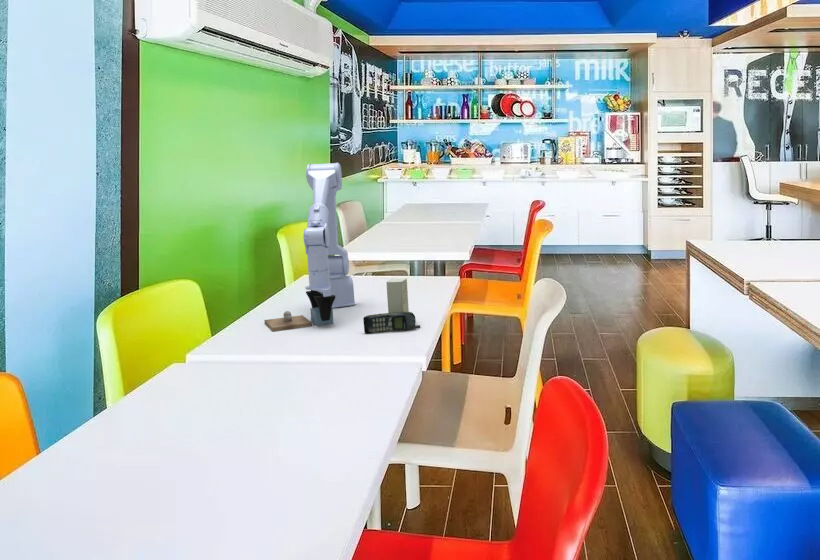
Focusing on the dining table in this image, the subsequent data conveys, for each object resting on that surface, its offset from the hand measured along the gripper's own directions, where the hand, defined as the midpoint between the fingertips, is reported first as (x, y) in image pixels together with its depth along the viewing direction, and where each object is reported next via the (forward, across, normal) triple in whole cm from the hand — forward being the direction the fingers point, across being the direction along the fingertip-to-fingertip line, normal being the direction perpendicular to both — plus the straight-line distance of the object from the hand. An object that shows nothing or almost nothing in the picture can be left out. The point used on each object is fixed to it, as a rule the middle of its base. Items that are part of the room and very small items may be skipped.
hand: (321, 317), depth 207 cm
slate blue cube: (+1, 0, 0) cm, 1 cm away
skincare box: (+2, +13, +18) cm, 22 cm away
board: (+1, -3, -9) cm, 10 cm away
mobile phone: (+2, +20, +14) cm, 24 cm away
